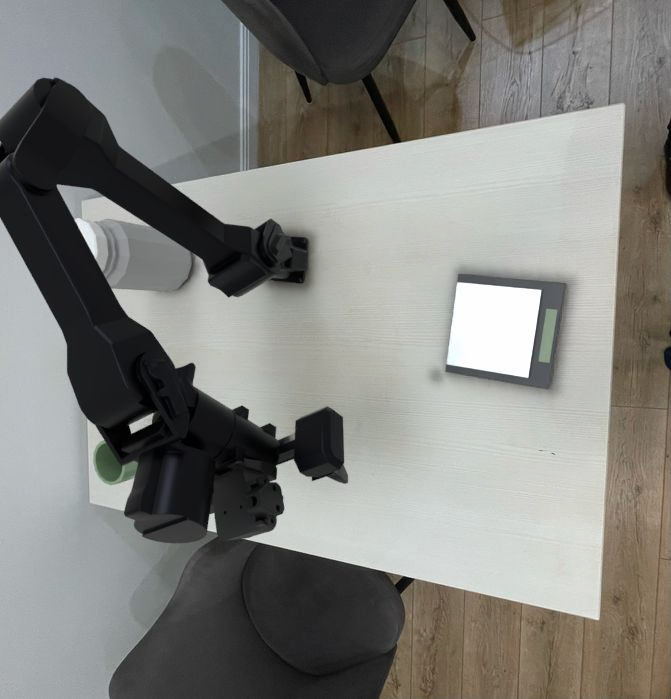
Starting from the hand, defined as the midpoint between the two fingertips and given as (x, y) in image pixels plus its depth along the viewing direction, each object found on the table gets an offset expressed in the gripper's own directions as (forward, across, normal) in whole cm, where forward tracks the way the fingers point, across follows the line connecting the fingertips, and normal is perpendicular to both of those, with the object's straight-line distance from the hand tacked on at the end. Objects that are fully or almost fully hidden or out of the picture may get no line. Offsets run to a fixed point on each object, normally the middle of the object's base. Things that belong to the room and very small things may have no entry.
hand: (313, 490), depth 61 cm
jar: (-12, -20, +41) cm, 47 cm away
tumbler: (+4, -33, +19) cm, 38 cm away
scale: (+6, +24, +16) cm, 29 cm away
